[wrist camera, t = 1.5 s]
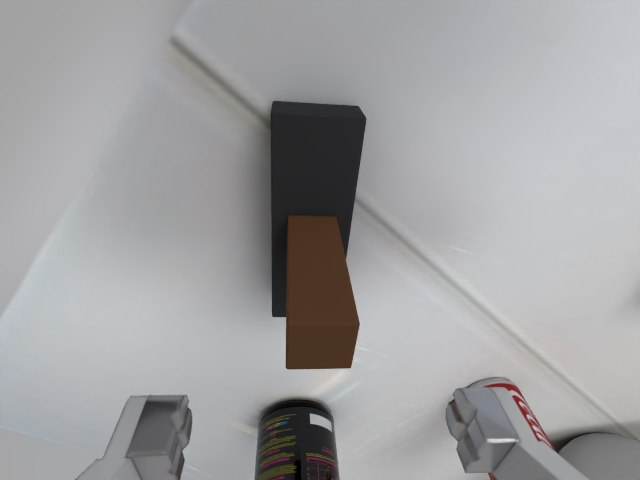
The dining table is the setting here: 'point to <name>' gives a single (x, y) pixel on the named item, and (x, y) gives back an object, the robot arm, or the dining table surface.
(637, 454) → the jar
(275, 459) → the supplement container
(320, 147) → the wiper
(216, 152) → the dining table surface
